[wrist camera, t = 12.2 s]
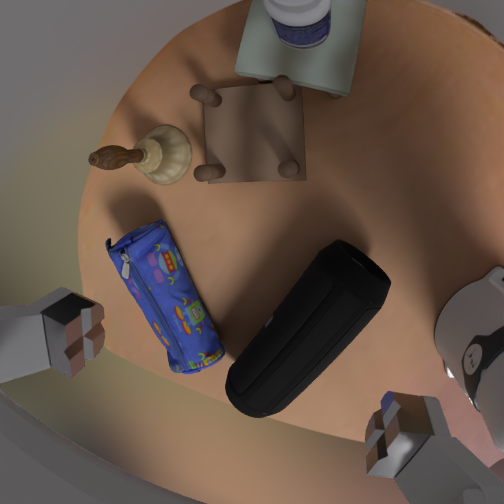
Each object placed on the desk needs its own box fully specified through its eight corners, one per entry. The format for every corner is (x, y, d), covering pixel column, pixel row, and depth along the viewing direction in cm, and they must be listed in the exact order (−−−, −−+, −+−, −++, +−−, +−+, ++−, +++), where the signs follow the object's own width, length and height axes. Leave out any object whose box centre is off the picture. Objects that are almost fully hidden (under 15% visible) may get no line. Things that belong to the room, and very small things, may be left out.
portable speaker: (329, 227, 41) (331, 248, 31) (389, 270, 40) (405, 301, 31) (230, 359, 49) (210, 399, 40) (282, 390, 49) (271, 434, 40)
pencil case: (127, 230, 47) (88, 247, 38) (171, 208, 44) (135, 221, 35) (189, 354, 51) (165, 389, 42) (236, 342, 48) (217, 380, 39)
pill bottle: (341, 35, 26) (346, -8, 17) (295, 61, 28) (283, 24, 19) (308, -2, 26) (301, -52, 16) (264, 22, 28) (241, -22, 18)
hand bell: (189, 120, 40) (121, 106, 25) (195, 181, 42) (129, 195, 27) (136, 131, 42) (59, 127, 27) (142, 188, 44) (67, 205, 29)
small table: (360, 24, 32) (367, -3, 24) (344, 105, 36) (350, 93, 28) (269, 8, 34) (257, -20, 26) (250, 86, 37) (233, 71, 30)
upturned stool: (301, 85, 36) (295, 68, 29) (306, 179, 39) (302, 184, 32) (208, 93, 39) (184, 81, 31) (213, 182, 42) (189, 188, 34)
